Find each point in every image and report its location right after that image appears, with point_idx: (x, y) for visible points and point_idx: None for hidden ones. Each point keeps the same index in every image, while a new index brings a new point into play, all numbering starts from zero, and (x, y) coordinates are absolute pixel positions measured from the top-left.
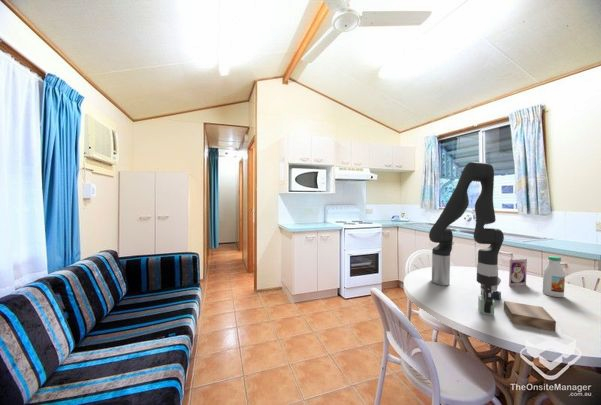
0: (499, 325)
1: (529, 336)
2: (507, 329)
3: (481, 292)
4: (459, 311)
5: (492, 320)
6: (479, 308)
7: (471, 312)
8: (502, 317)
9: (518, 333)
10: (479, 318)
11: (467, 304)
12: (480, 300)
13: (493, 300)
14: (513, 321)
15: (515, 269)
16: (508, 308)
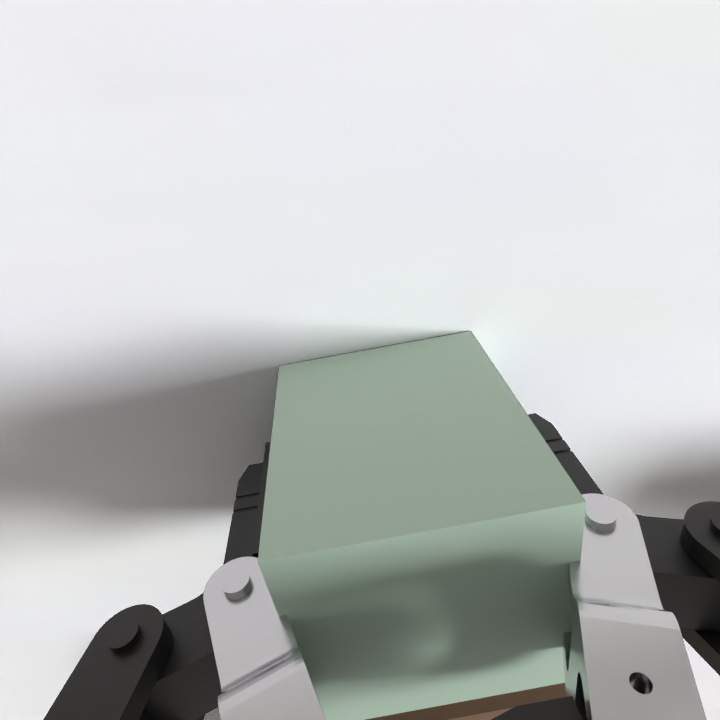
0: (40, 559)
1: (33, 716)
2: (6, 613)
3: (589, 678)
4: (21, 12)
5: (128, 500)
6: (346, 379)
7: (186, 250)
8: None
9: (8, 670)
10: (33, 373)
11: (552, 154)
12: (259, 545)
13: (409, 708)
14: None
15: None
16: (400, 716)
